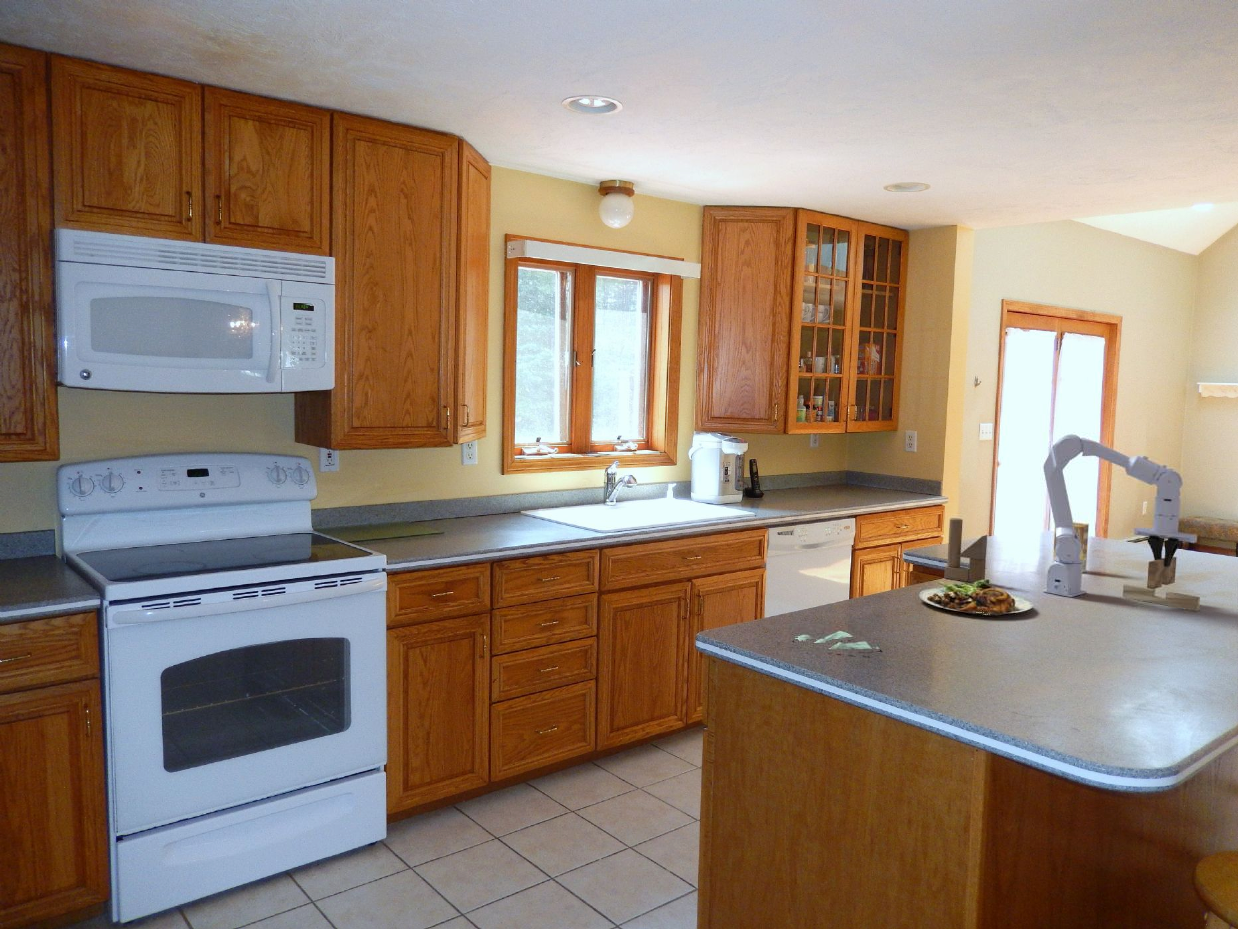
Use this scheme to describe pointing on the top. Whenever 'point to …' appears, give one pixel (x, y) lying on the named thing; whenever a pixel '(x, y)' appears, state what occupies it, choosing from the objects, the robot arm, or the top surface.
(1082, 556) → the candy box
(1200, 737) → the top surface
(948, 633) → the top surface
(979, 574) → the wooden block
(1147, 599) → the birch board
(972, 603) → the plate of food
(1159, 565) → the wooden plank
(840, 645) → the cloth
